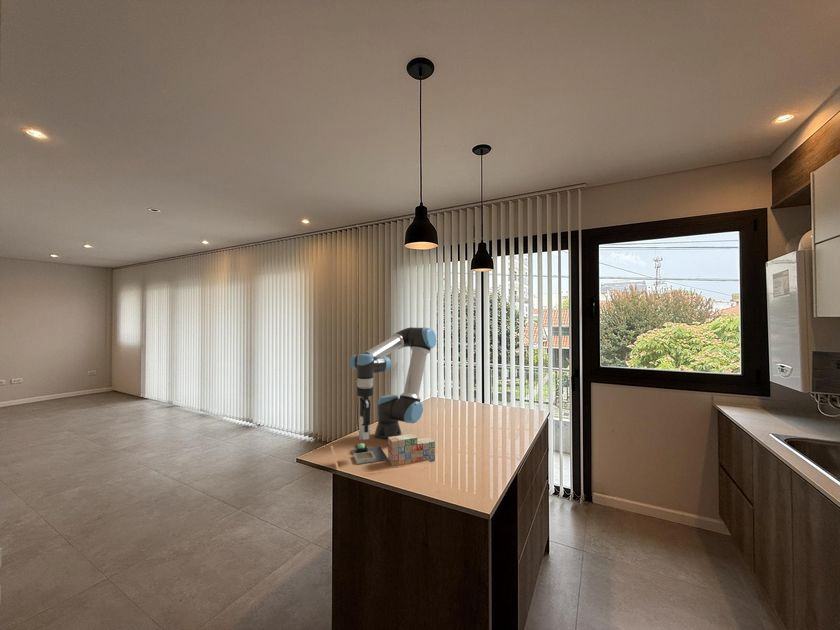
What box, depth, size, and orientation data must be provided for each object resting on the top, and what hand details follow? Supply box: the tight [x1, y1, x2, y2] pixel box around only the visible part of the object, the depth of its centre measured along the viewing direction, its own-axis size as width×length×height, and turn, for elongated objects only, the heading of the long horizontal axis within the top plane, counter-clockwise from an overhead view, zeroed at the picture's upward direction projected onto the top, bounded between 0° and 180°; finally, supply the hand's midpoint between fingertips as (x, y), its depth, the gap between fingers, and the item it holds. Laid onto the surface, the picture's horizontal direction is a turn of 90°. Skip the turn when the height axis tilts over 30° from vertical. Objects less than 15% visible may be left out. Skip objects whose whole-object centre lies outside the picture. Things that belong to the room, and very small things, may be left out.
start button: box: [356, 443, 366, 449], centre depth 167 cm, size 4×4×3 cm
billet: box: [358, 415, 371, 441], centre depth 159 cm, size 5×5×10 cm
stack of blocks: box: [387, 433, 436, 469], centre depth 158 cm, size 21×6×12 cm, turn 113°
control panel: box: [350, 443, 389, 466], centre depth 163 cm, size 15×19×4 cm
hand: (364, 436), depth 158 cm, fingers closed on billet, 5 cm apart
